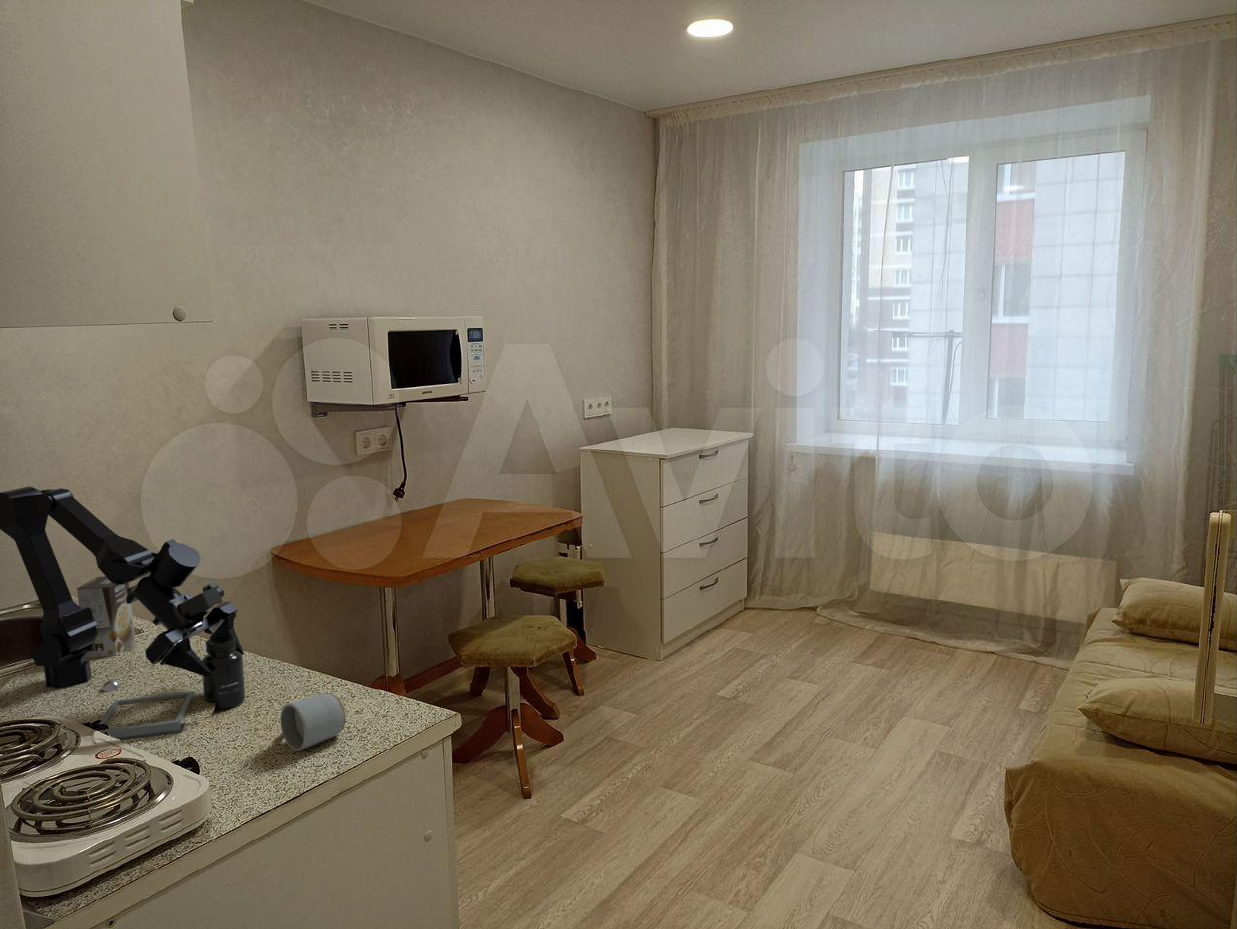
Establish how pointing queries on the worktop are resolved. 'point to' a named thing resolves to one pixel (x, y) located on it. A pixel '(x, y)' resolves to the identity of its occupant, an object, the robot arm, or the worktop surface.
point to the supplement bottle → (223, 673)
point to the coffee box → (108, 616)
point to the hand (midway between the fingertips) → (226, 664)
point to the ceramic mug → (312, 720)
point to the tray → (152, 728)
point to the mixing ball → (111, 686)
